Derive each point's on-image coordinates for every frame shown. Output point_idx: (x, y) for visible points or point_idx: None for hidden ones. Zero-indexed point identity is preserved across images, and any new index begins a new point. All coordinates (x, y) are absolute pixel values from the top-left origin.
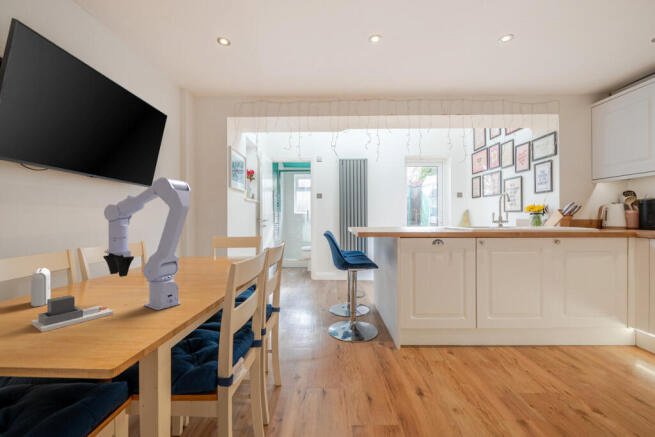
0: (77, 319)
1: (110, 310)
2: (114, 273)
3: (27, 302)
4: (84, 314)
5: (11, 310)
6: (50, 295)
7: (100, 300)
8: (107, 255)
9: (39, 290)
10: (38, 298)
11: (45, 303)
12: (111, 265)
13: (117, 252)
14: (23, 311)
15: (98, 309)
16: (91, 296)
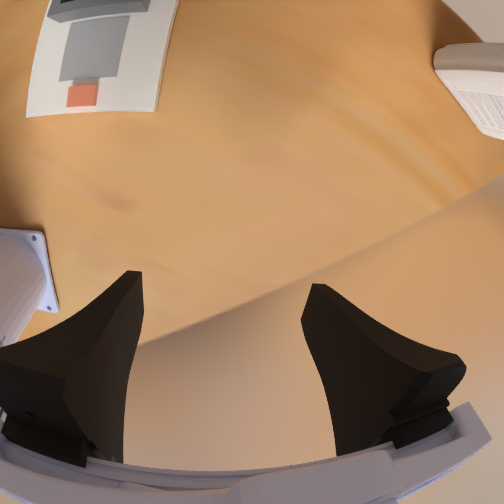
0: (49, 7)
1: (40, 111)
2: (308, 304)
3: None
4: (76, 29)
5: (450, 17)
6: (484, 126)
7: (309, 182)
8: (446, 395)
9: (478, 53)
10: (454, 51)
11: (435, 68)
12: (344, 338)
13: (51, 489)
14: (413, 6)
15: (95, 82)
16: (403, 204)
